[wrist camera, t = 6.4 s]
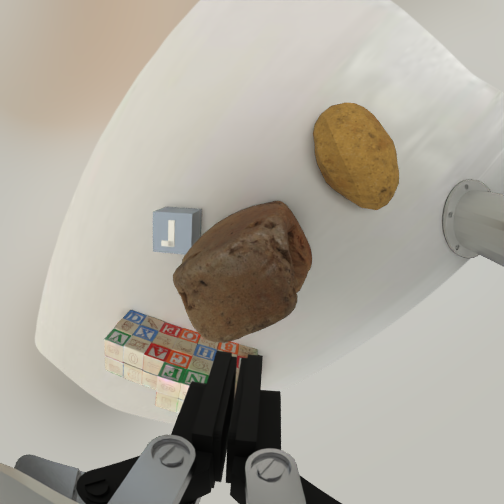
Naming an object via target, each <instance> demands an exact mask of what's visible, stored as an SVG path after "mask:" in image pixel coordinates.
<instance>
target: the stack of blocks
mask: <svg viewBox="0 0 504 504" xmlns="http://www.w3.org/2000/svg"><path fill="white" fill-rule="evenodd" d="M217 351H224V352H232V356H233V357H237V367H236V383H235V393H236V387H237V381H238V375H239V369H240V364H241V358H247V357H248V354H250V355H257V349H254V348H250V347H246V346H243V345H239V344H237V343H233V342H230V341H229V342H226V343H220V342H212V341H209V340H206V339H204V338H203V337H202V336H201V335H200V334H199V333H198V332H194V331H191V330H188V329H185V328H181V327H178V326H175V325H171V324H168V323H165V322H164V321H161V320H158V319H155V318H152V317H150V316H146V315H144V314H141V313H138V312H135V311H133V310H130V311H129V312H128V313H127V314H126V315H125V316H124V317H123V319H121V320H120V321H119V322H118V324H117V325H116V326H115V327H114V329H113V330H112V331H111V332H110V333H109V334H108V336H107V337H106V338H105V370H107V371H109V372H111V373H114V374H116V375H119V376H121V377H123V378H125V379H128V380H130V381H133V382H135V383H138V384H141V385H143V386H146V387H148V388H151V389H154V390H156V402H155V406H158V407H160V408H163V409H166V410H169V411H173V412H177V413H179V412H180V410H181V407H182V404H183V402H184V399H185V396H186V394H187V391H188V388H189V386H190V384H191V382H192V381H194V382H200V383H206V384H207V380H208V377H209V374H210V371H211V367H212V364H213V361H214V358H215V355H216V352H217Z"/></svg>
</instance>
